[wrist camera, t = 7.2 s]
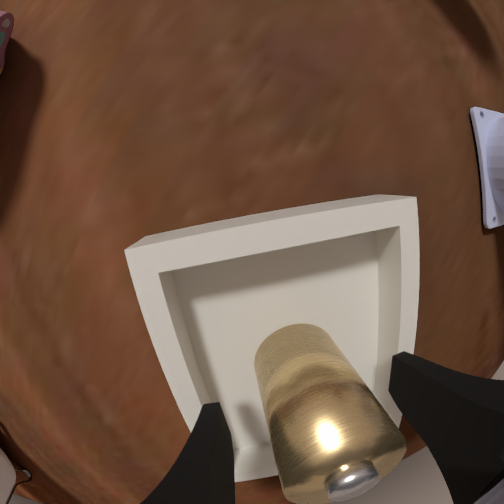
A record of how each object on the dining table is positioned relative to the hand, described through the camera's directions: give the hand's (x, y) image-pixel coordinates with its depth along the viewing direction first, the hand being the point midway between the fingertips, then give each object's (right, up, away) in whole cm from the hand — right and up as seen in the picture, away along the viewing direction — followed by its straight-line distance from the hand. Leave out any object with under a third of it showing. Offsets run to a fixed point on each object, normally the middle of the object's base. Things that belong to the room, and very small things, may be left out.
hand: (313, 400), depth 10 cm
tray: (0, +1, +4) cm, 4 cm away
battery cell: (0, +1, +3) cm, 3 cm away
